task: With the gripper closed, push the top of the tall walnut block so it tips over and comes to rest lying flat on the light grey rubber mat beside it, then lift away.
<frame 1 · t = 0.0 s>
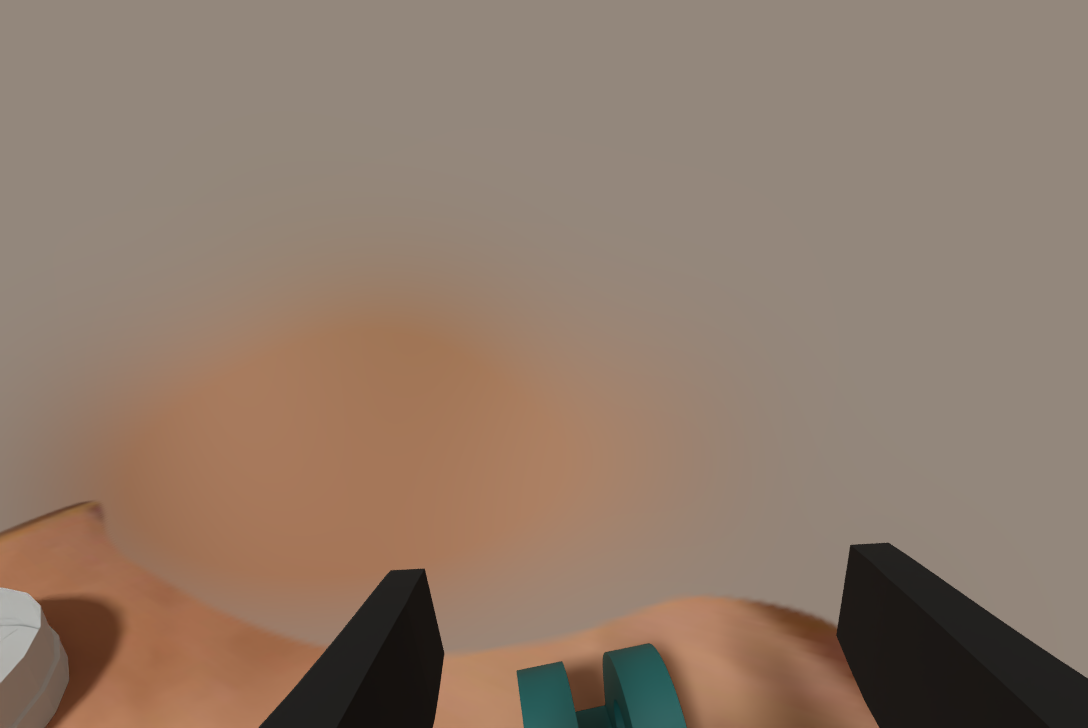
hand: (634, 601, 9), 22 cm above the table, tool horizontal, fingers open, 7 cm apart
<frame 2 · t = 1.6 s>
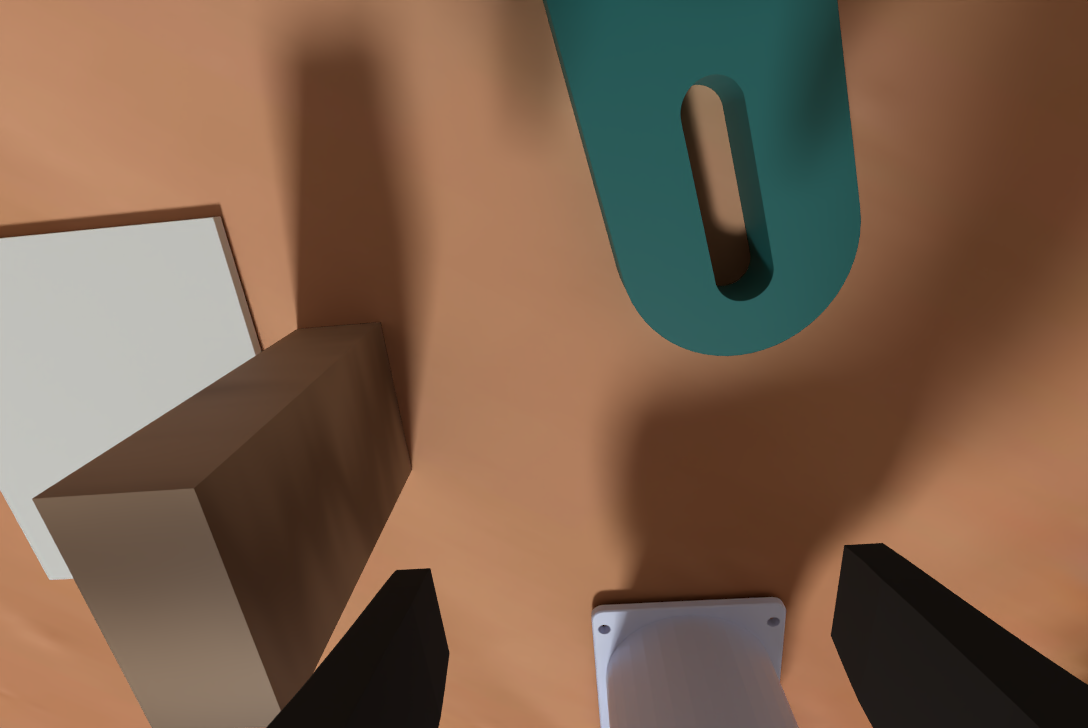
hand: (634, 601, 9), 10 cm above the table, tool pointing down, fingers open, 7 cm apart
walnut block: (357, 402, 20), on the table
bracket: (676, 47, 16), on the table
grey mat: (127, 420, 20), on the table
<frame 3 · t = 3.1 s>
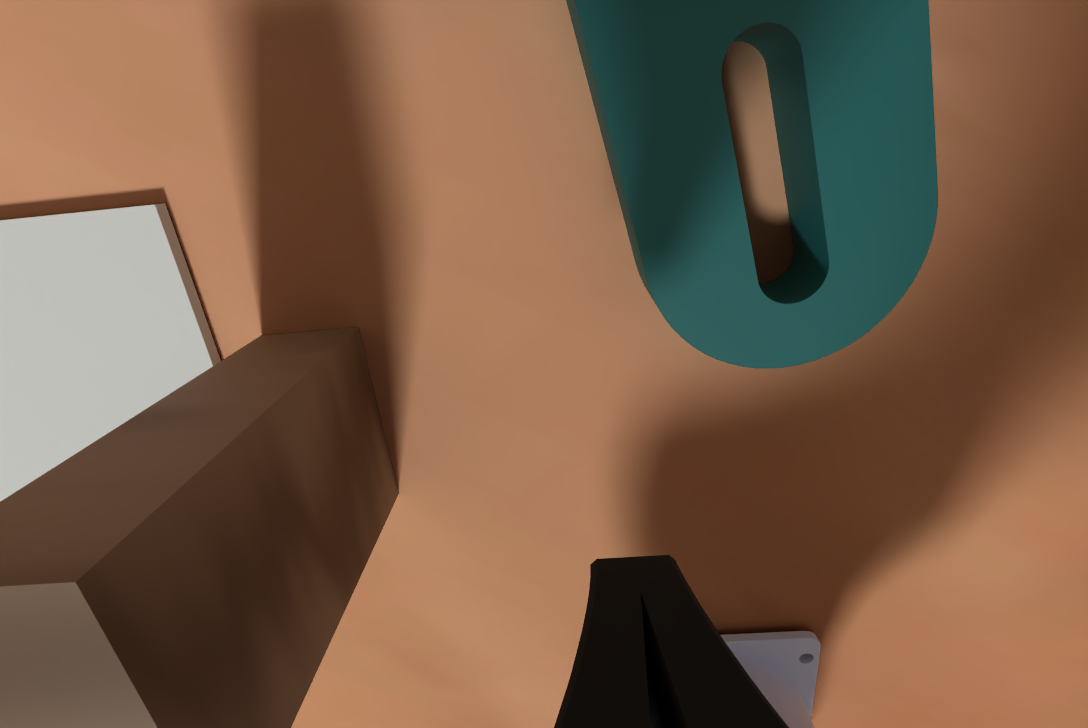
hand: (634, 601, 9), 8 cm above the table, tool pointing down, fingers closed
walnut block: (334, 419, 17), on the table
grey mat: (70, 439, 18), on the table
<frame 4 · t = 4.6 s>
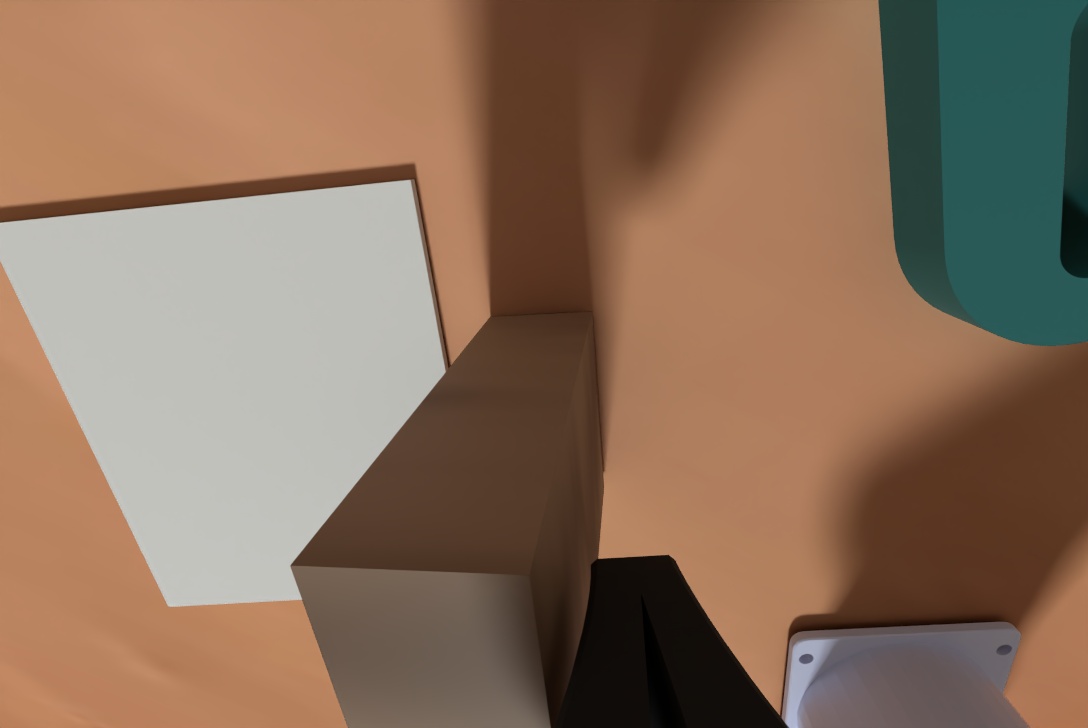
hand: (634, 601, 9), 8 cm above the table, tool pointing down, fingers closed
walnut block: (550, 406, 16), on the table, tilted 7°
grey mat: (274, 425, 17), on the table
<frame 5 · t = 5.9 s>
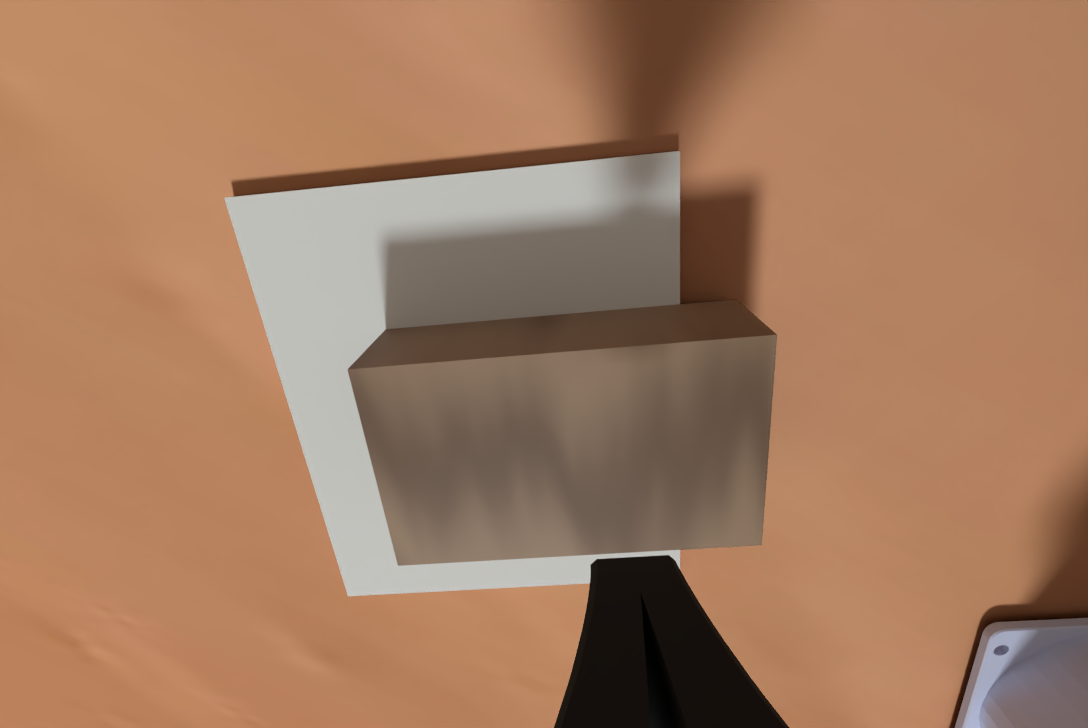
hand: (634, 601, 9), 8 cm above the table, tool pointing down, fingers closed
walnut block: (748, 420, 14), point 2 cm above the table, tilted 90°, touching grey mat
grey mat: (485, 408, 17), on the table
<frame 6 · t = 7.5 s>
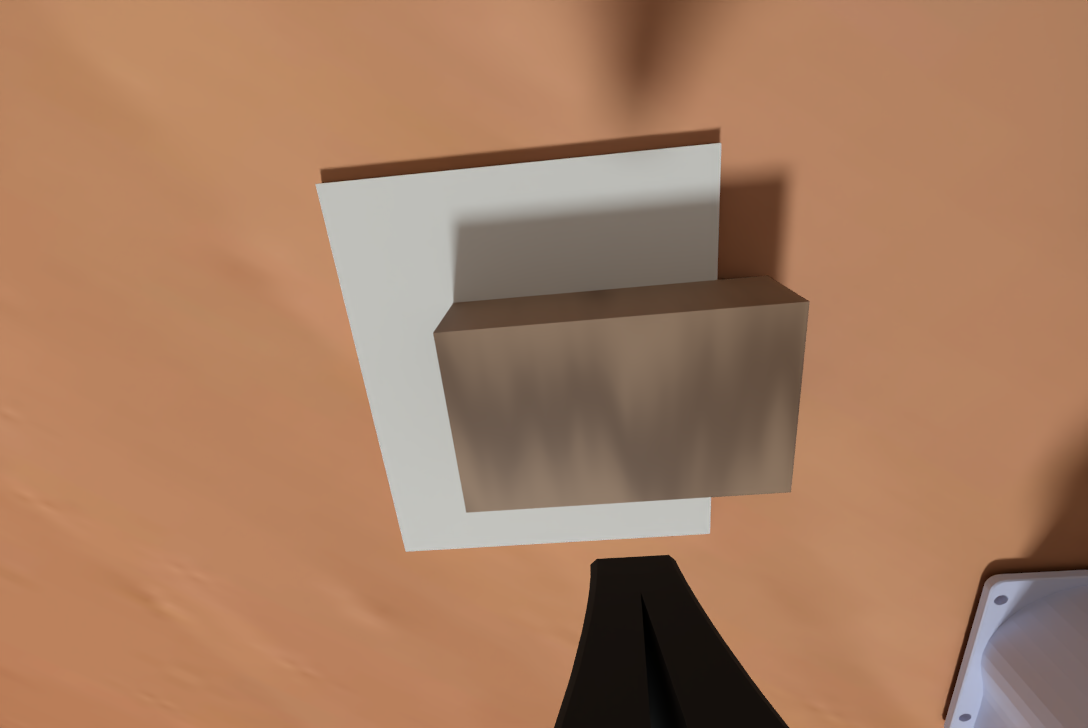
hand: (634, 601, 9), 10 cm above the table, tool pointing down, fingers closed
walnut block: (778, 382, 16), point 2 cm above the table, tilted 90°, touching grey mat
grey mat: (537, 376, 19), on the table
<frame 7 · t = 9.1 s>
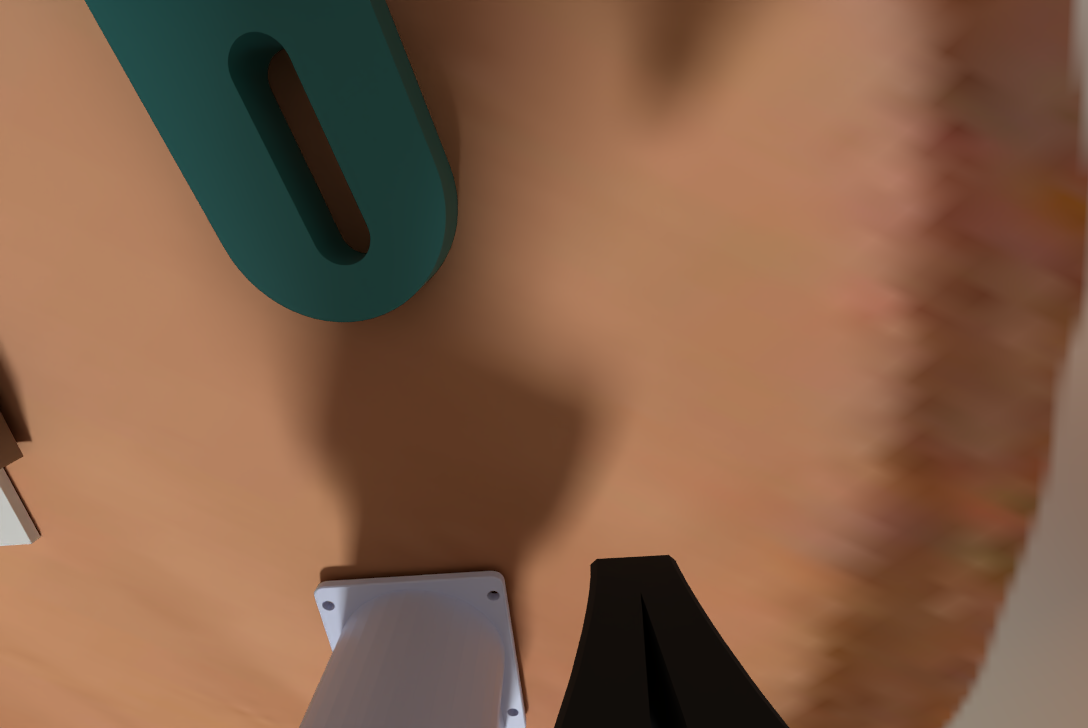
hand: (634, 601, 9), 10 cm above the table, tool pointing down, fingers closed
bracket: (268, 10, 15), on the table
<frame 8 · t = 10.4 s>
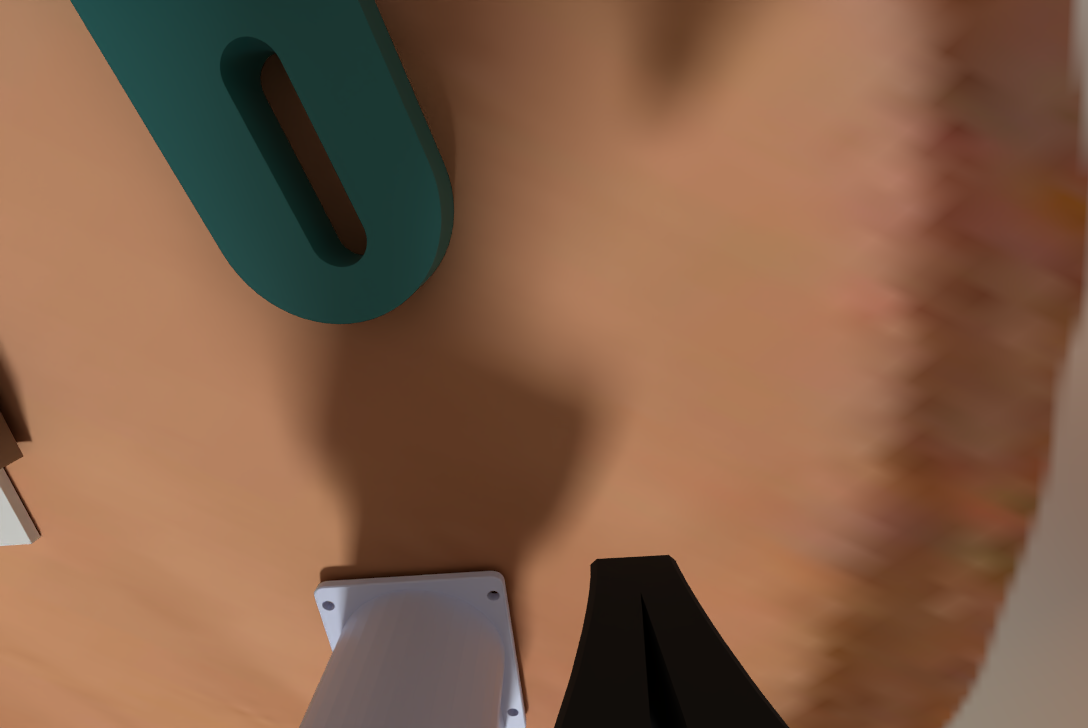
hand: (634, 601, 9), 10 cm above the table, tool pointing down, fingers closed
bracket: (259, 15, 15), on the table
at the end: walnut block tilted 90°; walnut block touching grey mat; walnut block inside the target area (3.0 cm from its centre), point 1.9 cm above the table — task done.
